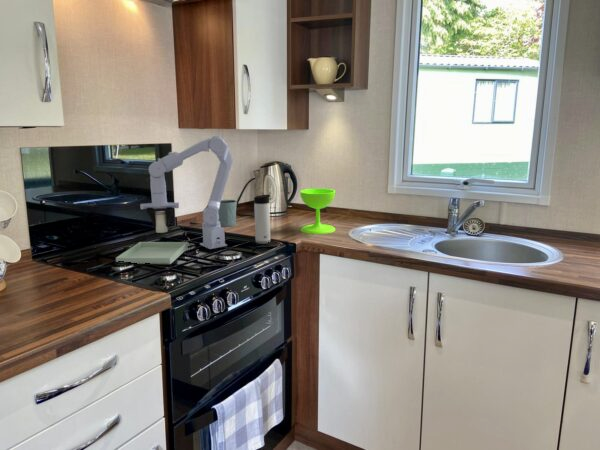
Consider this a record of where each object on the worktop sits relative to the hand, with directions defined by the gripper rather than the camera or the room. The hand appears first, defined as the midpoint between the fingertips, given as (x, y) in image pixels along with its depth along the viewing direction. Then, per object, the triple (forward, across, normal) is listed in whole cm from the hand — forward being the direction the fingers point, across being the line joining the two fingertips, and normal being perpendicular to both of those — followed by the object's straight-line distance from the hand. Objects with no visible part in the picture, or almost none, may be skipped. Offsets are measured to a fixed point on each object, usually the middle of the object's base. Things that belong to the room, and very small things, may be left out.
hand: (161, 226), depth 190 cm
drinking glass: (+9, -24, -37) cm, 45 cm away
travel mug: (+9, -40, -4) cm, 42 cm away
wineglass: (+9, -66, -21) cm, 70 cm away
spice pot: (+2, 0, 0) cm, 2 cm away
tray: (+9, +2, +10) cm, 13 cm away
